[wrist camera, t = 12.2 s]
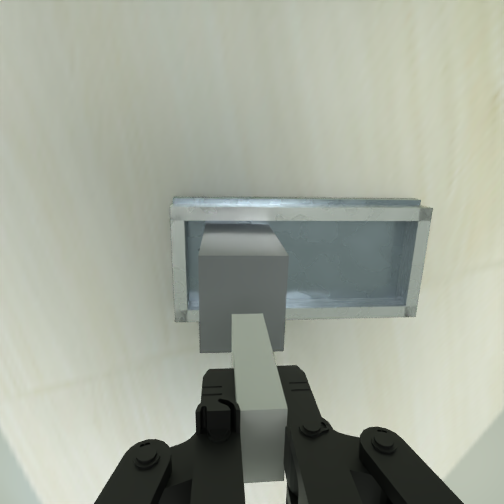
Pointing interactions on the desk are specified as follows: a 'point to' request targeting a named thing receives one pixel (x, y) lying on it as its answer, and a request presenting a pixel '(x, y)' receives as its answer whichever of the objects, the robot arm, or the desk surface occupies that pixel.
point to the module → (240, 282)
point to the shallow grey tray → (316, 252)
